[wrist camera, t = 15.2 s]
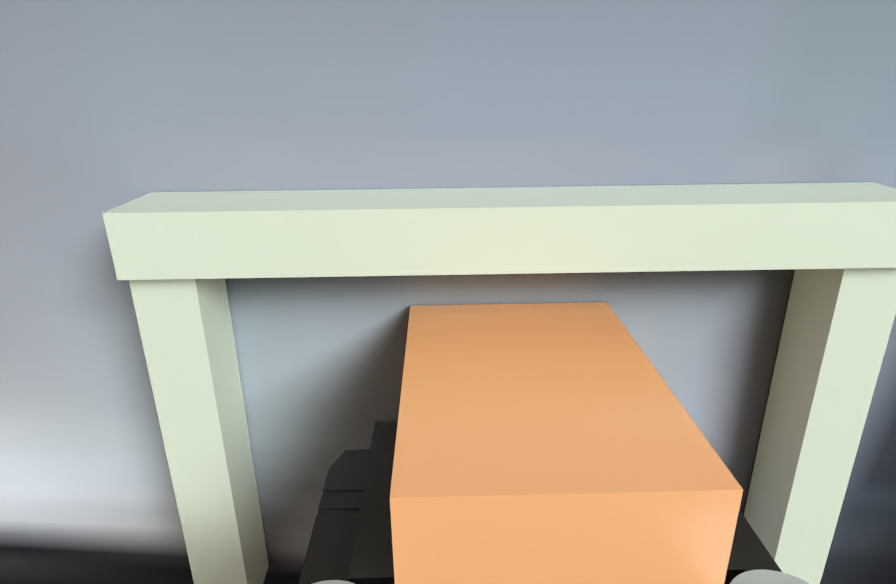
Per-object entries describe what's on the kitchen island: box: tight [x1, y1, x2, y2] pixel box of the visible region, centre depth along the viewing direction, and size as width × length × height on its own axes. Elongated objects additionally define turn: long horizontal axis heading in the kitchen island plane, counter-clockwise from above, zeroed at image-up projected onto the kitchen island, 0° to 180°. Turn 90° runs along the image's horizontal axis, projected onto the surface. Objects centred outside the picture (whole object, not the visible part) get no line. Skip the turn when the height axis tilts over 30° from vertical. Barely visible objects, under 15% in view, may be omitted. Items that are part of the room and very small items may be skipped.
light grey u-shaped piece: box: [103, 182, 896, 584], centre depth 10 cm, size 12×8×2 cm, turn 91°
